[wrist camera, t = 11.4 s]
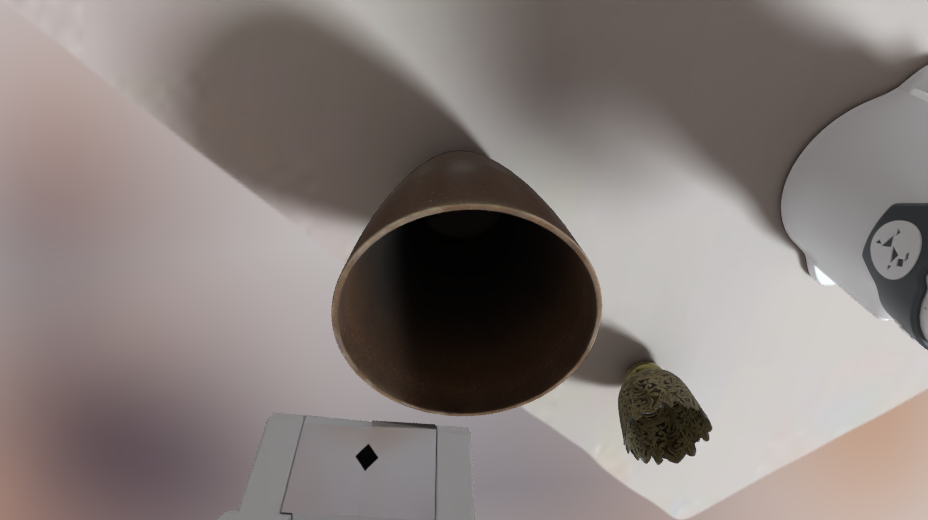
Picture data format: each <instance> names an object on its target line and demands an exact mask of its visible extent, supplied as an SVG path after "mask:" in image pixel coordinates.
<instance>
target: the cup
mask: <svg viewBox="0 0 928 520" xmlns="http://www.w3.org/2000/svg"><path fill="white" fill-rule="evenodd" d="M618 409H619V417H620V423H621V429H622V434H623V439H624V445H626V450H627V453H628V454H629V452H630V451H631V452H632V454H633V455H634V457H635V458H636V459H637V460H638V461H639V458H641V460H642V461H643V462H644V463H646V464H647V463H648V462H649V461H650V459H651V456H652V457H653V458H654V460H655V462H656V463H657V465H659V464H661V463H662V461H663V459H662V458H664V459H668V460H669V461H670V462H673V463H679V462H680V461H681V460H682V459H683V458H684V456H685V455H686V454H687V455H689V456H695V454H696V448H695V445H694V444H695V443H696V442H700V438H703V440H705V441H709V434H708V432H711V430H712V426H711V423H710V421H709V419H708V418H707V415H706V414H705V413H704V411H703V410H702V408H701V407H700V405H699V404H698V402H697V400H696V399H695V397H694V396H693V394H692V393H691V392H690V390H689V389H688V387H687V386H686V385H685V384H684V383H683V382H682V380H681V379H680V378H678V377H677V376H676V375H674V374H673V373H671V372H668V371H666V370H662V369H661V368H660V367H659V366H658V365H657V364H655V363H653V362H649V361H643V362H638V363H636V364H634V365H632V366H631V367H630V368H629V369H628V371H627V373H626V376H625V382H624V384H623V385H622V387H621V390H620V393H619V397H618Z"/></svg>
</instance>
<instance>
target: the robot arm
mask: <svg viewBox="0 0 928 520" xmlns="http://www.w3.org/2000/svg"><path fill="white" fill-rule="evenodd" d="M781 216H782V221H783V225H784V227H785V230H786V232H787V234H788V235H789V237H790V238H791V239H792V241H793V242H794V243H795V244H796V245H797V246H798V247H799V248H800V249H801V250H802V251H803V252H804V254H805V256H806V261H807V267H808V271H809V274H810V276H811V277H812V278H813V279H814V280H816V281H817V282H818V283H819V284H822V285H838V286H839V287H840V288H841V289H843V290H844V291H845V292H846V293H847V294H848V295H850V296H851V297H852V298H853V299H854V300H856V301H857V302H858V303H859V304H860V305H861V306H863V307H864V308H865V309H866V310H867V311H869V312H870V313H871V314H872V315H873V316H875V317H876V318H878V319H881V320H884V321H886V320H888V319H889V320H894V321H895V322H896V323H897V324H898V325H899V327H900V328H901V329H902V330H903V331H904V332H905V333H906V334H907V335H908V336H910V337H911V338H912V339H913V340H915V341H917V342H918V343H919V344H921V345H922V346H923V347H924V348H925V349H927V350H928V65H926V66H925V67H923V68H922V69H920V70H919V71H917V72H916V73H915V74H914V75H912V76H911V77H910V78H908V79H907V80H906V81H905V82H904V83H902V84H901V85H900V86H899V87H897V88H896V89H894V90H892V91H891V92H889V93H886V94H884V95H882V96H880V97H877V98H875V99H872V100H870V101H868V102H865V103H863V104H861V105H859V106H857V107H855V108H853V109H851V110H850V111H848V112H846V113H845V114H843V115H842V116H840V117H839V118H837V119H836V120H834V121H833V122H832V123H831V124H829V125H828V126H827V127H826V128H825V129H823V130H822V131H821V132H820V133H819V134H818V135H817V136H816V137H815V138H814V139H813V140H812V141H811V142H810V143H809V144H808V146H807V147H806V148H805V149H804V151H803V152H802V153H801V155H800V156H799V157H798V159H797V160H796V162H795V164H794V165H793V167H792V169H791V171H790V173H789V175H788V178H787V180H786V183H785V186H784V189H783V194H782V200H781ZM474 510H475V509H474V490H473V467H472V446H471V432H470V430H469V428H467V427H454V426H441V425H437V426H435V425H434V424H417V423H401V422H385V421H372V422H369V421H358V420H349V419H339V418H329V417H319V416H308V415H307V416H306V415H294V414H284V413H272V414H271V416H270V417H269V419H268V421H267V422H266V425H265V428H264V432H263V435H262V438H261V441H260V444H259V447H258V450H257V453H256V456H255V459H254V462H253V465H252V468H251V471H250V474H249V477H248V480H247V483H246V486H245V489H244V492H243V495H242V499H241V502H240V505H239V508H238V511H226V512H225V513H224V514H223V515H222V516H220V517H219V518H218V519H217V520H475V511H474Z"/></svg>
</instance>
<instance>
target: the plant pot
mask: <svg viewBox="0 0 928 520" xmlns="http://www.w3.org/2000/svg"><path fill="white" fill-rule="evenodd" d="M487 210H488V211H491V212H488V211H487ZM437 213H438V215H437V216H435V217H433V216H431V215H433V214H437ZM601 315H602V296H601V289H600V285H599V281H598V278H597V276H596V273H595V271H594V268H593V266H592V265H591V263H590V261H589V259H588V258H587V256H586V255H585V253H584V252H583V250H582V249H581V247H580V246H579V245H578V243H577V242H576V240H575V239H574V238H573V236H572V235H571V233H570V232H569V230H568V229H567V228H566V226H565V225H564V223H563V222H562V221H561V220H560V218H559V217H558V216H557V215H556V214H555V212H554V211H553V210H552V209H551V208H550V207H549V206H548V205H547V203H546V202H545V201H544V200H543V199H542V198H541V197H540V196H539V195H538V194H537V193H536V192H535V191H534V190H533V189H532V188H531V187H530V186H529V185H528V184H526V183H525V182H524V181H523V180H522V179H520V178H519V177H518V176H517V175H515V174H514V173H513V172H511V171H510V170H509V169H507V168H506V167H504V166H503V165H501V164H499V163H497V162H496V161H494V160H492V159H490V158H488V157H485V156H483V155H480V154H477V153H473V152H468V151H453V152H448V153H444V154H441V155H439V156H436V157H434V158H432V159H430V160H429V161H427V162H425V163H424V164H422V165H421V166H419V167H418V168H417V169H415V170H414V171H413V172H412V173H410V174H409V175H408V176H407V177H406V178H405V179H404V180H403V181H402V182H401V183H400V184H399V185H398V186H397V187H396V188H395V189H394V190H393V191H392V193H391V194H390V195H389V196H388V197H387V199H386V200H385V201H384V202H383V204H382V205H381V206H380V208H379V209H378V210H377V211H376V213H375V214H374V216H373V217H372V219H371V220H370V222H369V223H368V225H367V226H366V228H365V229H364V231H363V233H362V235H361V236H360V238H359V240H358V242H357V243H356V245H355V247H354V249H353V251H352V253H351V255H350V257H349V259H348V260H347V262H346V264H345V266H344V268H343V270H342V272H341V274H340V277H339V279H338V281H337V284H336V287H335V291H334V295H333V301H332V326H333V331H334V335H335V338H336V341H337V344H338V347H339V349H340V351H341V353H342V355H343V356H344V358H345V360H346V361H347V362H348V364H349V365H350V367H351V368H352V369H353V370H354V371H355V373H356V374H357V375H358V376H359V377H360V378H361V379H362V380H363V381H365V382H366V383H367V384H368V385H369V386H371V387H372V388H373V389H375V390H376V391H378V392H379V393H380V394H382V395H384V396H386V397H387V398H389V399H391V400H393V401H395V402H398V403H400V404H402V405H405V406H407V407H410V408H413V409H417V410H420V411H424V412H428V413H433V414H440V415H449V416H476V415H486V414H492V413H497V412H502V411H505V410H510V409H513V408H516V407H519V406H522V405H524V404H527V403H529V402H532V401H534V400H536V399H538V398H540V397H542V396H543V395H545V394H547V393H548V392H550V391H552V390H553V389H555V388H556V387H557V386H559V385H560V384H561V383H562V382H563V381H565V380H566V379H567V378H568V377H569V376H570V375H571V374H572V373H573V372H574V371H575V370H576V369H577V368H578V367H579V365H580V364H581V363H582V361H583V360H584V359H585V357H586V356H587V354H588V352H589V351H590V349H591V348H592V346H593V343H594V341H595V339H596V336H597V333H598V330H599V326H600V321H601Z"/></svg>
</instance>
